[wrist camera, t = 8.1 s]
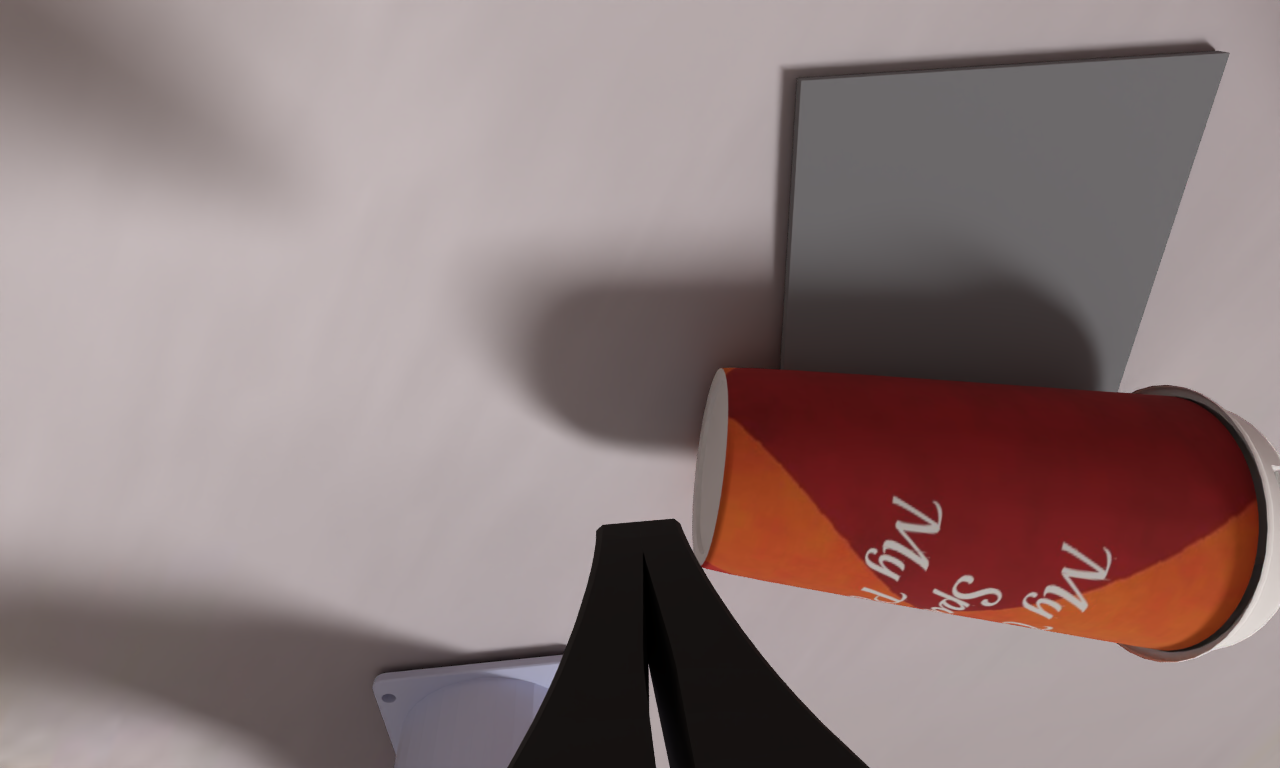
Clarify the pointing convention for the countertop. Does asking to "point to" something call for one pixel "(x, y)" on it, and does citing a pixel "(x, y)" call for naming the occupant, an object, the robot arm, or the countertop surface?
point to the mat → (987, 216)
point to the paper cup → (997, 503)
